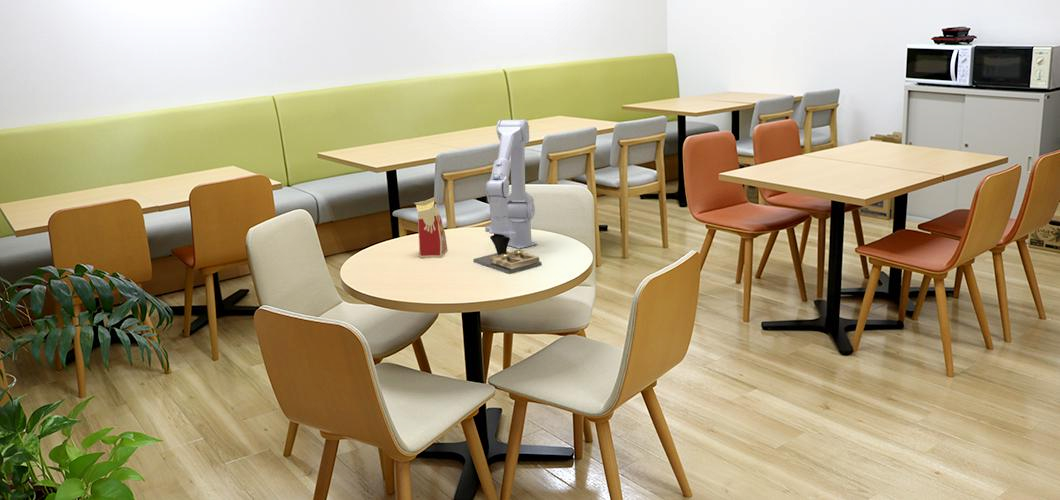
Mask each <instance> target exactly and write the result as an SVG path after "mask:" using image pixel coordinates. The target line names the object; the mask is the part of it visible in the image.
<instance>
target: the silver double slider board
mask: <svg viewBox="0 0 1060 500" xmlns="http://www.w3.org/2000/svg"><path fill="white" fill-rule="evenodd" d="M509 252H510V251H507V250H506V253H503V254H501V258H504V259H505V260H507V258H508V257H510V254H509ZM523 252H524V251H523V250H522V249H516V250H514V254H516V255H517V256H519V257H520V254H523ZM497 255H498V254H497V252H496V253H492V254H488V255H484V256H481V257H480V256H479V257H476V258H475V257H474V258H473V259H472V260H473V261H472V262H473V263H476V264H478V265H482V266H484V267H488V268H490V269H493V270H496V271H499V272H502V273H505V274H508V275H510V274H513V273H518V272H522V271H524V270H529V269H532V268H536V267H540V266H542V265H543V264H542V261H540V260H539V262H538V263H534V264H530V265H526V266H523V267H519V268H515V269H509V268H506V267H503V266H500V265H497V264H494V263H491V262H490V257H493V256H497Z"/></svg>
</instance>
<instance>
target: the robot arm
mask: <svg viewBox="0 0 1060 500" xmlns="http://www.w3.org/2000/svg"><path fill="white" fill-rule="evenodd" d="M496 134H497V138H498V140H499V148H498V149H499V150H498V157H497V159H495V160H494V162H493V166H492V168H491V169H492V170H491V175H490V178H489V180H487V182H486V183H485V194H486V198H487V202H488V204H489V215H490V225H489V224H488V225H485V226H484V231H485V232H486V233H489V234H493V235H490V236H489V237H490V240H491V241H492V243H493V245H494V248H495V251H496V253H497V254H498V255H501V254H503V253H506V251H507V250H508V246H509V247H511V248H515V249H517V250H521V249H525V248H529V247H531V246H536V245H538V243H537V242H535V241H532V223H531V222H532V221H531V220H532V219H534V217H535V214H536V205H535V200H534V197H533V196H532V195H531V194H529V193H528V192H527V191H526V162H525V157H526V155H525V154H526V153H525V151H526V150H525V147H526V144H528V143H529V142H530V125H529V122H528V121H527V120H526V119H525V118H524V119H499V120H498V122H497V123H496ZM509 177H510V180H509ZM510 181H511V182H510ZM510 184H511V186H510ZM510 187H511V188H510ZM510 189H511V191H510Z"/></svg>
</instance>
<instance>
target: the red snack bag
mask: <svg viewBox="0 0 1060 500" xmlns="http://www.w3.org/2000/svg"><path fill="white" fill-rule="evenodd" d="M413 204H414V205H415V206H416V210H417V224H418V248H419V249H418V257H419V258H420V259H424V258H425V259H427V258H429V259H430V258H431V259H433V258H436V259H437V258H442V257H443V256H444V255H445V254H446V253H447V252H448V244H447V237H446V233H445V229H444V224H443V220H442V217H441V214H440V211H439V209H438V206H437V203H436V197H434V196H433V197H432V198H429V199H426V200H422V201H418V202H413Z"/></svg>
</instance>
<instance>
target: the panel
mask: <svg viewBox="0 0 1060 500" xmlns="http://www.w3.org/2000/svg"><path fill="white" fill-rule="evenodd" d="M514 251H515V250H514ZM514 251H508V252H509V254H510V257H508V258H507V260H505V259H504V258H501V255H497V256H493V257H490V262H491V263H494V264H497V265H500V266H503V267H506V268H509V269H515V268H519V267H523V266H526V265H530V264H534V263H538V262H539V261H540V256H536V255H534V254H529V253H526V252H524V251H523V254H520V257H519V256H517V255H516V254H514Z"/></svg>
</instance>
